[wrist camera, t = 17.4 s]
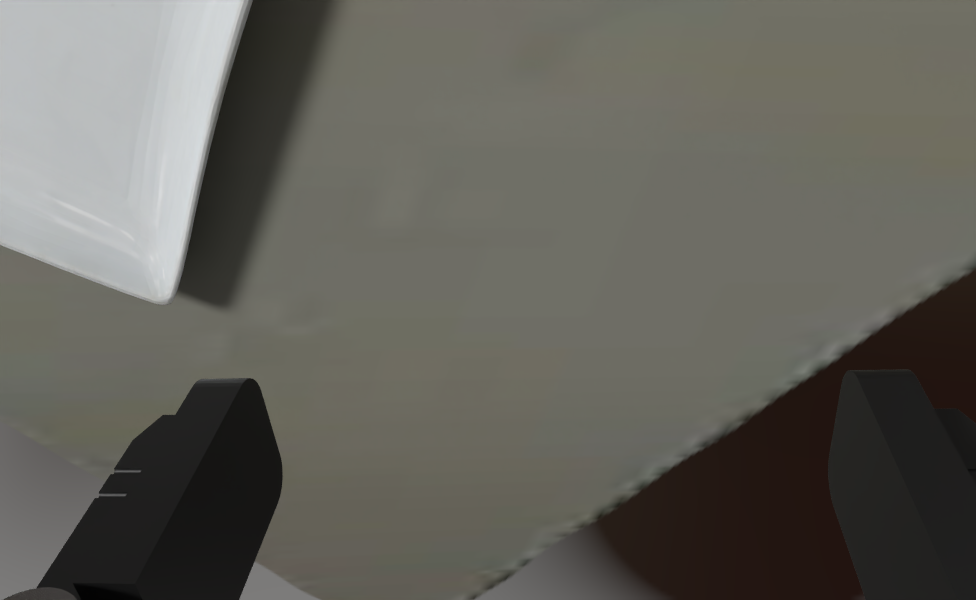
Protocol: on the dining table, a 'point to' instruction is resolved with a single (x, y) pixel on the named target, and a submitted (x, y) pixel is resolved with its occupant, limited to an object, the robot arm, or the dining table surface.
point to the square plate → (110, 132)
